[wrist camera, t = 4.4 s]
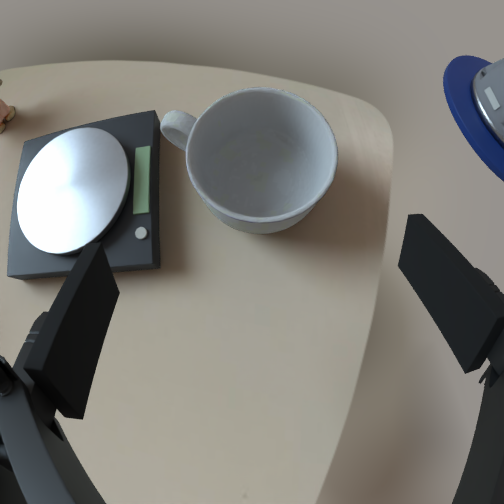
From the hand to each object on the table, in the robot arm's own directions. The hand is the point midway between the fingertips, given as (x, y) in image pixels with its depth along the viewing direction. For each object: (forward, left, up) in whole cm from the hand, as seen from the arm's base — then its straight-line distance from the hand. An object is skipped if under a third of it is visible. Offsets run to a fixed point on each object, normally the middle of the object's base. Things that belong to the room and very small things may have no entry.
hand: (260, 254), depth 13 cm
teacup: (0, -10, -15) cm, 18 cm away
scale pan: (+16, -10, -12) cm, 22 cm away
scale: (+16, -10, -15) cm, 24 cm away
